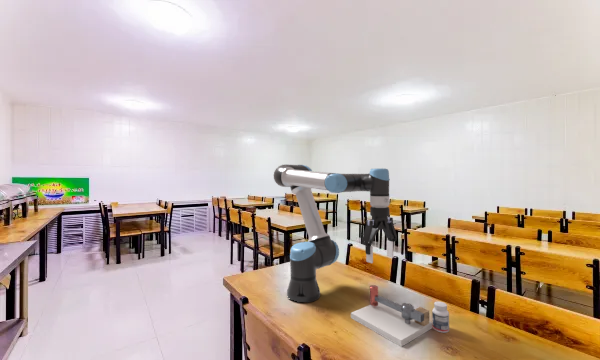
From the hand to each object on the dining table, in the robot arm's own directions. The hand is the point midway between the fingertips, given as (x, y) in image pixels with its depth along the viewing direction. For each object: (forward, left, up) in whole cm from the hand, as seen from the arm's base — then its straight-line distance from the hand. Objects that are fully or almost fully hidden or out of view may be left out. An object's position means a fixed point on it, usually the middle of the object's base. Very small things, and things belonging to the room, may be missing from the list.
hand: (380, 259), depth 111 cm
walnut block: (+18, 0, -18) cm, 25 cm away
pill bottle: (+22, +5, -20) cm, 30 cm away
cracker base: (+9, -6, -20) cm, 23 cm away
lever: (+9, -4, -17) cm, 20 cm away
